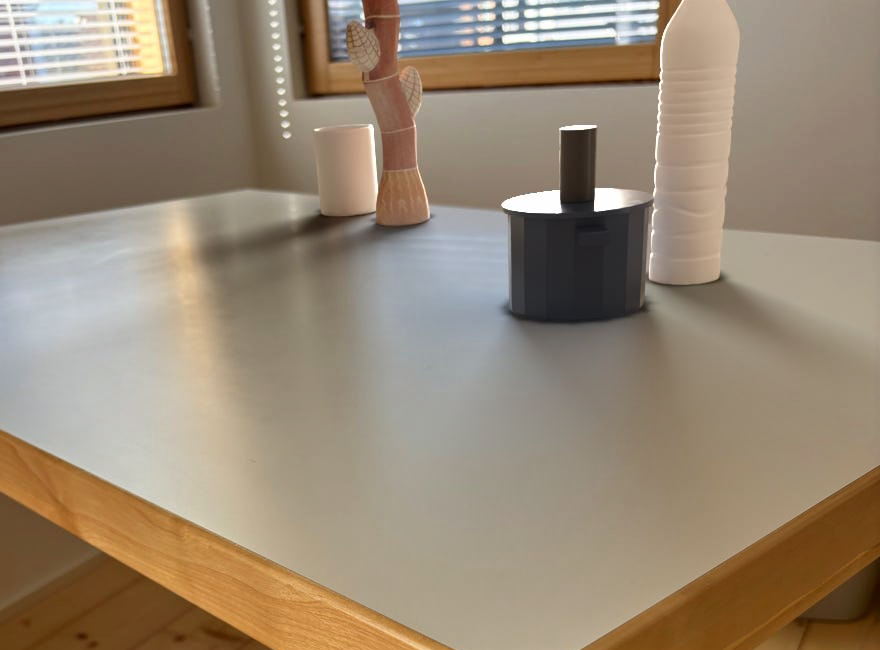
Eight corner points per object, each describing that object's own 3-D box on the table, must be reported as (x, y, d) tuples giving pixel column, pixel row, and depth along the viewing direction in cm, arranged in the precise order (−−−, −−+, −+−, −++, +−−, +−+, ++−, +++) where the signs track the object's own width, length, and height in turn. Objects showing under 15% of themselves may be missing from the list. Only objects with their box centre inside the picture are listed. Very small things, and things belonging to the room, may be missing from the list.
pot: (621, 283, 98) (625, 187, 94) (664, 328, 84) (671, 217, 79) (500, 292, 99) (498, 197, 94) (522, 338, 84) (521, 228, 80)
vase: (421, 213, 143) (407, -44, 128) (442, 220, 137) (430, -50, 122) (350, 223, 140) (327, -40, 125) (368, 230, 134) (346, -45, 119)
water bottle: (716, 288, 94) (743, -38, 81) (643, 287, 96) (659, -30, 84) (724, 268, 101) (750, -35, 88) (656, 268, 103) (673, -28, 91)
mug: (387, 211, 147) (381, 126, 141) (329, 218, 145) (321, 132, 139) (362, 202, 157) (356, 121, 151) (308, 208, 155) (300, 127, 149)
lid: (635, 197, 93) (639, 115, 89) (669, 220, 82) (675, 127, 78) (495, 208, 93) (493, 127, 89) (511, 232, 82) (510, 140, 79)
